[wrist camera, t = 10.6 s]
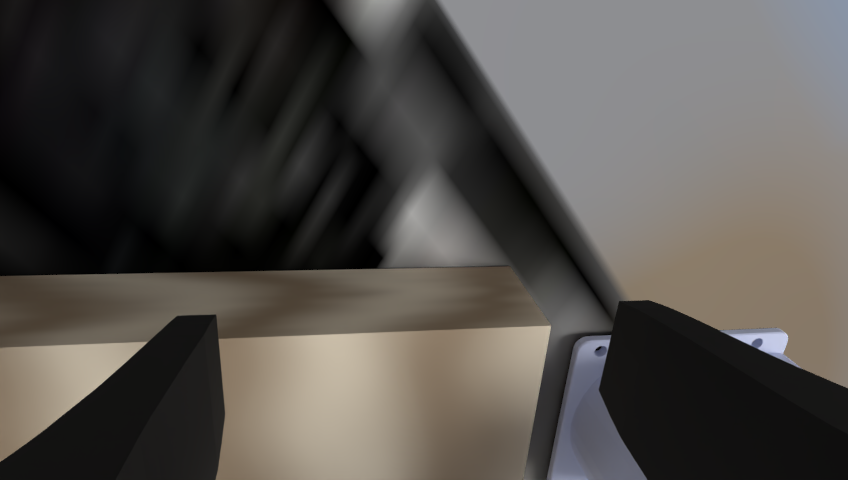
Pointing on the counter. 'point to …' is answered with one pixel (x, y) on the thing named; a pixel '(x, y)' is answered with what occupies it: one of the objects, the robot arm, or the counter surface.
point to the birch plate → (302, 364)
